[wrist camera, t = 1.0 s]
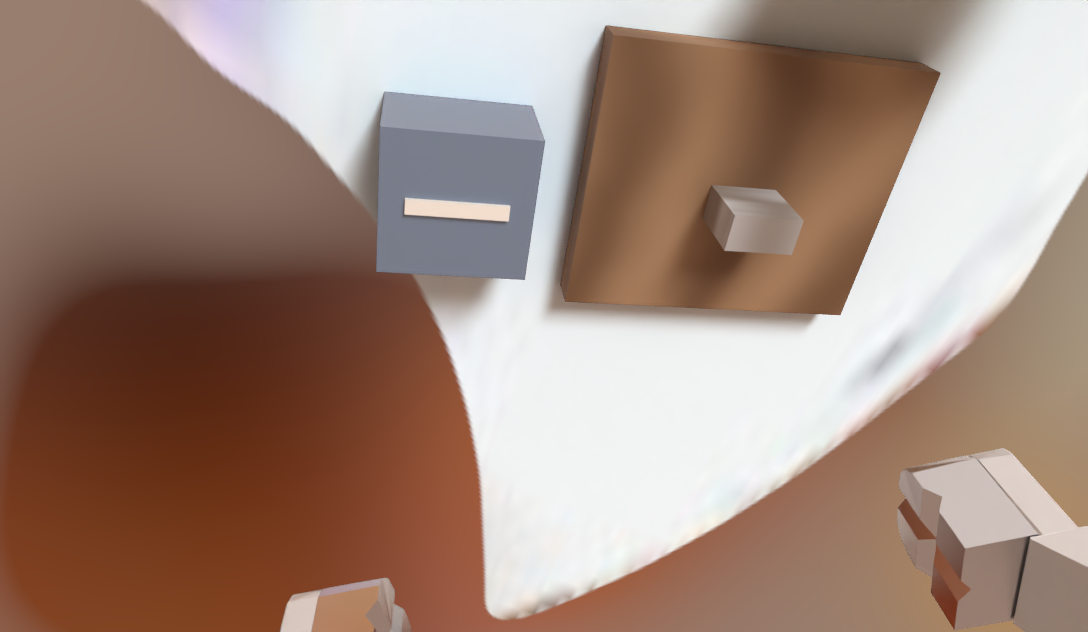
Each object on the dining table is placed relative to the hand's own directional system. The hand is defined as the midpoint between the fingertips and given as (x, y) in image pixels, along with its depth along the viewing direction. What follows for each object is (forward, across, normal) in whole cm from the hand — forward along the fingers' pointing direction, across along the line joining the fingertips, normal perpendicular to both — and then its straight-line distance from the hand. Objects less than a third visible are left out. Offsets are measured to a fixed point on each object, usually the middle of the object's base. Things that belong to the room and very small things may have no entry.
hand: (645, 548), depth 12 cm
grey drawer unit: (+23, +4, +2) cm, 24 cm away
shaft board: (+24, -8, +6) cm, 26 cm away
